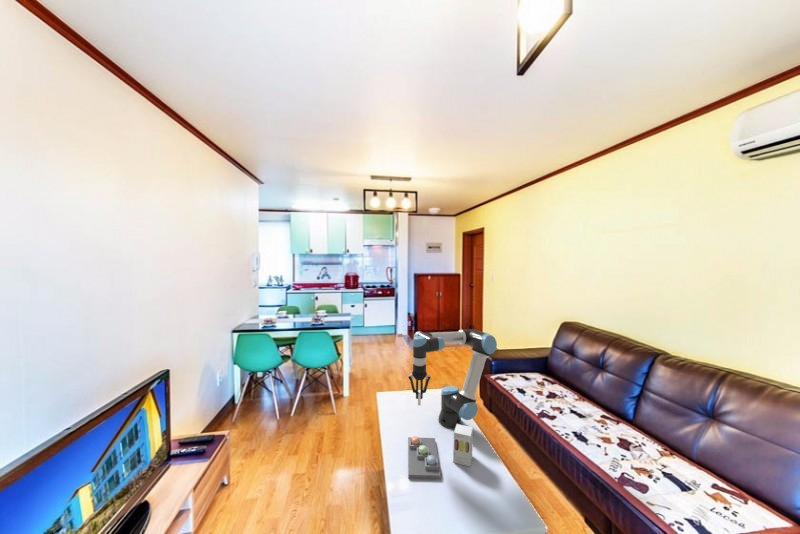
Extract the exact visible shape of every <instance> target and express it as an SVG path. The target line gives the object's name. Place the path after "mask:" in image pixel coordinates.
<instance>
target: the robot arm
mask: <svg viewBox="0 0 800 534" xmlns="http://www.w3.org/2000/svg"><path fill="white" fill-rule="evenodd" d="M449 344H459V345H465V346H469V347H471V352H472V356H471V359H470V363H469V365H468V369H467V372H466V375H465V379H464V381H463V386H462V388H461V390H460V388H459V387H457V386H453V385H449V386H447V385H446V386H444V387H442V389H441V393H440V394H441V395H440V396H441V398H440V400H441V401H440V405H441V407H440V408H441V409H440V412H439V415H438V423H439V425H441V426H442V427H444V428H448V429H455V428H456V425H457V424H460V425H462V419H463V420H465V421H470V420H472V419H473V418H475V417H476V415H477V414H478V411H479V407H478V404H477V403H476V402H477V397H476V393H477V391H478V386H479V384H480V380H481V377H482V373H483V370H484V369H485V364H486V361H487V359H488V358H490V356H491V355H492V354H494V353H495V352H496V350H497V345H498V343H497V339H496V338H495V337H494V336H493V335H492V334H489V333H488V332H483V331H480V330H477V329H459V330H458V331H442V332H441V331H437V332H435V331H434V332H423V331H420V330H419V331H416V332H415V333H414V334H413V341H412V372H411V374H408V376H407V377H408V380H410V385H411V386H410V387H411V391H412V392H413V393H414V394H415V400H417V406H421V405H422V404H421V403H422V402H421V400H423V396H424V395H423V394H424V393H425V394H426V393H427V389H428V384H429V382H430V380H431V375H430V374H428V373H427V354H428V353H431V352H438V351H442V350H444V348H445V345H449ZM425 378H426V379H425ZM413 379H414V380H415V384H414V380H413ZM424 380H425V383H423V382H424ZM419 381H420V385H419ZM423 385H424V386H423ZM419 386H420V391H419Z"/></svg>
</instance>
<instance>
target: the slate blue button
mask: <svg viewBox="0 0 800 534" xmlns="http://www.w3.org/2000/svg"><path fill="white" fill-rule="evenodd" d="M427 465H436V458H435V457H434V456H432V455H429V456H428V457H427Z"/></svg>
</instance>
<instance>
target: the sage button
mask: <svg viewBox="0 0 800 534" xmlns="http://www.w3.org/2000/svg"><path fill="white" fill-rule="evenodd" d="M419 455H427V447H426V446H424V445H421V446H419Z"/></svg>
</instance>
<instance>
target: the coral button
mask: <svg viewBox="0 0 800 534" xmlns="http://www.w3.org/2000/svg"><path fill="white" fill-rule="evenodd" d="M419 438H420V437H419V436H416V435H414V436H412V438H411V445H419Z"/></svg>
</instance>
